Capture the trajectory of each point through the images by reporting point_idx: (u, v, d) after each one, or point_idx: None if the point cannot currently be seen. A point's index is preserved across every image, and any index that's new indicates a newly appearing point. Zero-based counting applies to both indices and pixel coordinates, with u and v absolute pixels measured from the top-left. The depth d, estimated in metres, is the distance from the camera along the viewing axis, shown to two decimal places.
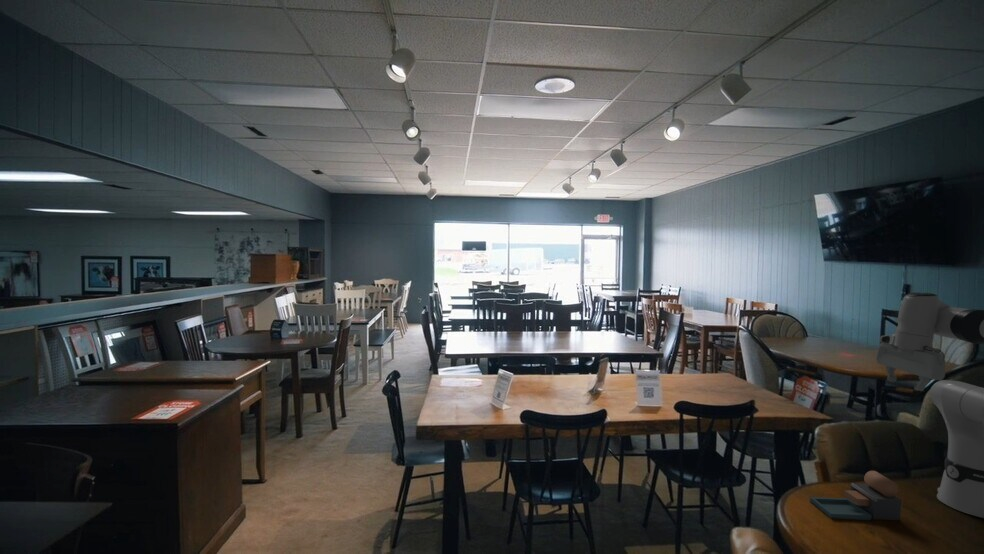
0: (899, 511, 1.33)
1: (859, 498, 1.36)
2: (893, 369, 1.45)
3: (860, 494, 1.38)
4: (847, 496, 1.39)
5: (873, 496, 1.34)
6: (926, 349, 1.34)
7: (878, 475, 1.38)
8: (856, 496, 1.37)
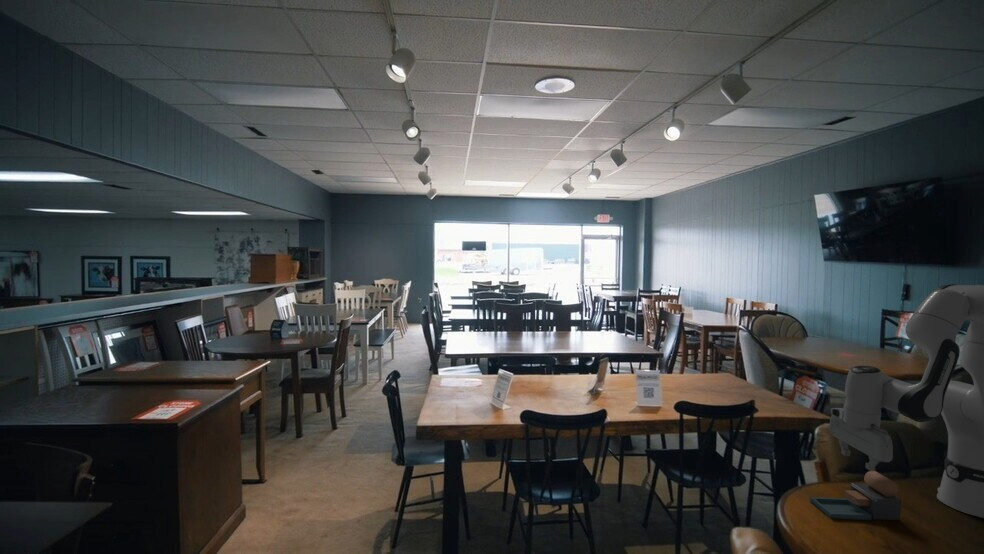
0: (899, 511, 1.33)
1: (859, 498, 1.36)
2: (846, 442, 1.42)
3: (860, 494, 1.38)
4: (847, 496, 1.39)
5: (873, 496, 1.34)
6: (873, 428, 1.31)
7: (878, 475, 1.38)
8: (856, 496, 1.37)
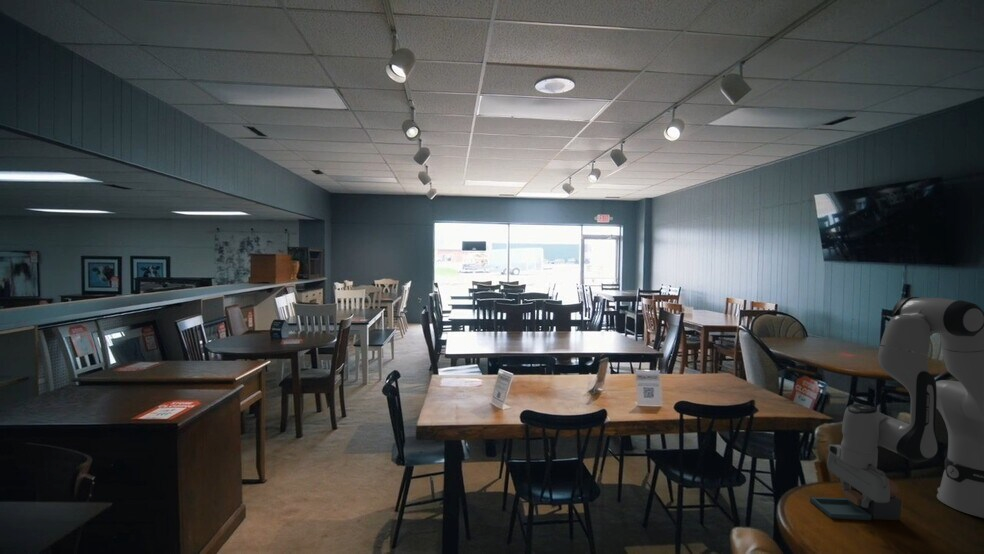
0: (899, 511, 1.33)
1: (859, 498, 1.36)
2: None
3: (860, 494, 1.38)
4: (847, 496, 1.39)
5: None
6: (870, 468, 1.32)
7: None
8: (856, 496, 1.37)
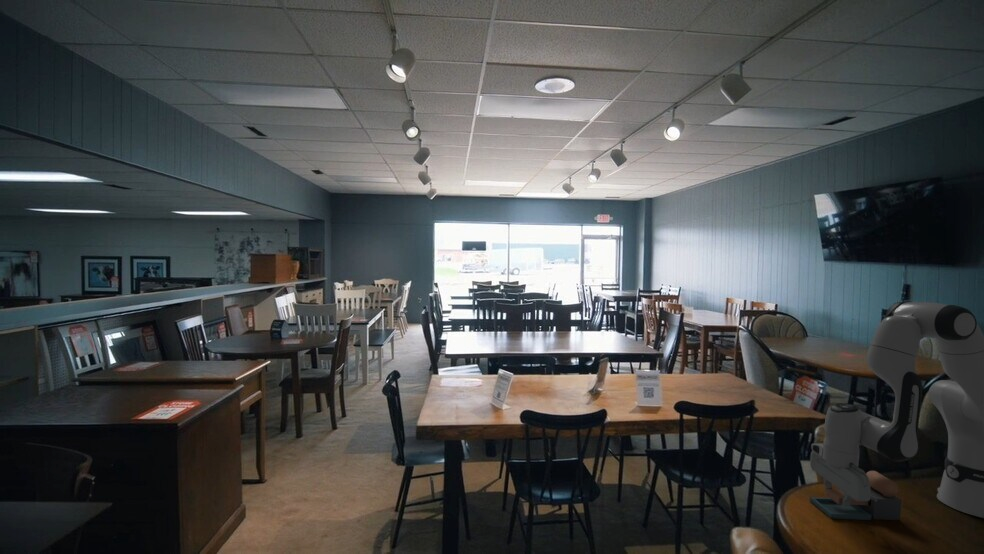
0: (899, 511, 1.33)
1: (841, 497, 1.36)
2: None
3: (842, 493, 1.38)
4: (829, 495, 1.39)
5: (873, 496, 1.34)
6: (852, 467, 1.32)
7: (878, 475, 1.38)
8: (838, 495, 1.37)
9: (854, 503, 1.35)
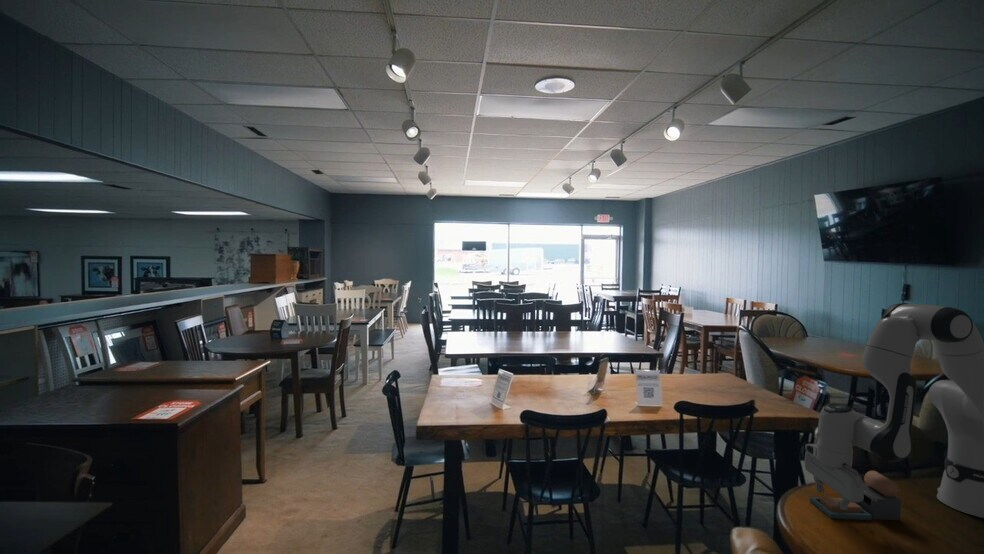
0: (899, 511, 1.33)
1: (834, 505, 1.36)
2: None
3: (835, 501, 1.38)
4: (822, 503, 1.39)
5: (873, 496, 1.34)
6: (845, 467, 1.32)
7: (878, 475, 1.38)
8: (831, 504, 1.37)
9: (847, 511, 1.36)
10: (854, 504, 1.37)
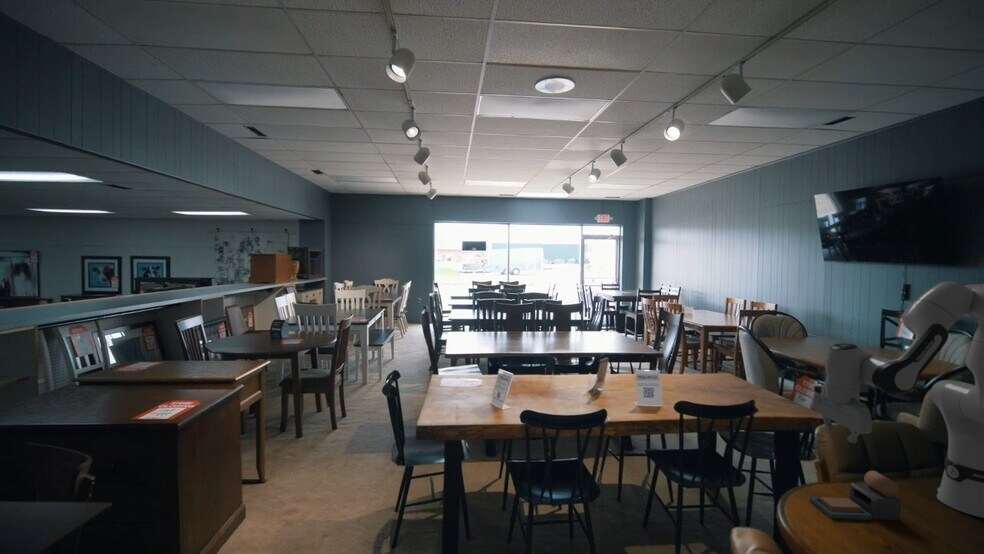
0: (899, 511, 1.33)
1: (834, 505, 1.36)
2: (829, 418, 1.48)
3: (835, 501, 1.38)
4: (822, 503, 1.39)
5: (873, 496, 1.34)
6: (853, 402, 1.37)
7: (878, 475, 1.38)
8: (831, 504, 1.37)
9: (847, 511, 1.36)
10: (854, 504, 1.37)
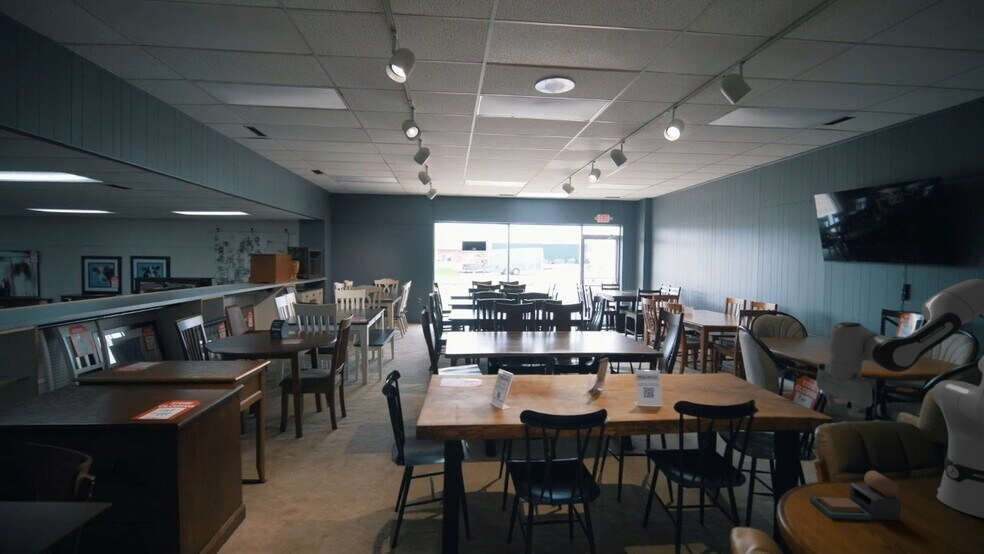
0: (899, 511, 1.33)
1: (834, 505, 1.36)
2: (832, 394, 1.54)
3: (835, 501, 1.38)
4: (822, 503, 1.39)
5: (873, 496, 1.34)
6: (855, 377, 1.43)
7: (878, 475, 1.38)
8: (831, 504, 1.37)
9: (847, 511, 1.36)
10: (854, 504, 1.37)
